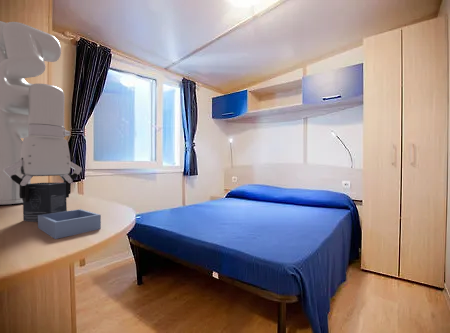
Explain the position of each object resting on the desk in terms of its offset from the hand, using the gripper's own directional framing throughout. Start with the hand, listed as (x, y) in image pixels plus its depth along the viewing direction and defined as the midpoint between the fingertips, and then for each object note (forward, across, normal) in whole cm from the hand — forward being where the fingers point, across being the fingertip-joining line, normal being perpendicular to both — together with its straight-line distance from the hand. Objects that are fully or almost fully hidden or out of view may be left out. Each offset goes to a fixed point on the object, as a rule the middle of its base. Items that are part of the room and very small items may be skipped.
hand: (46, 198), depth 62 cm
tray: (+6, -1, +12) cm, 14 cm away
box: (+7, 0, 0) cm, 7 cm away
